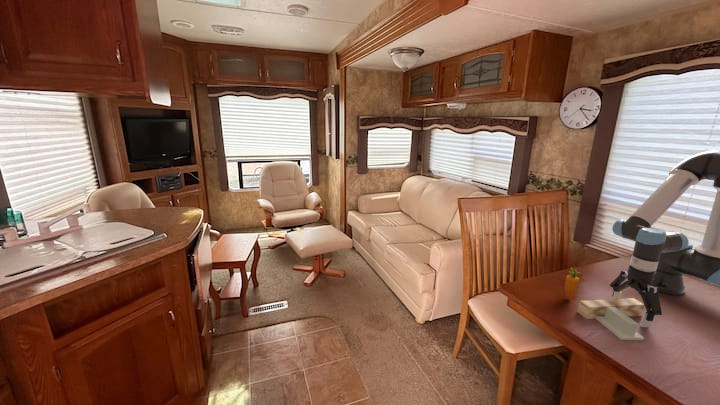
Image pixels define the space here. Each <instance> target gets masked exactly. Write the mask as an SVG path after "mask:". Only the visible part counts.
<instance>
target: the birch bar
mask: <svg viewBox="0 0 720 405" xmlns="http://www.w3.org/2000/svg"><path fill="white" fill-rule="evenodd" d="M607 307H616V308H617V309H618V310H620V311H621V312H622V313H624V314H625V315H627V316H628V317H641V316H643V315H642V314H643V313H644V312H643V311H644V308H645V305H644V302H641V301H640V300H638V299H636V298H634V297H630V298H621V299H613V298H610V299H609V298H608V299H607V298H606V299H588V300H579V303H578V307H577V313H578V314H579V315H581V316H582V317H583V318H585V319H586V320H588V319H590V320H591V319H596V316H605V313H606V309H607Z"/></svg>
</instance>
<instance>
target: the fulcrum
mask: <svg viewBox="0 0 720 405" xmlns="http://www.w3.org/2000/svg"><path fill="white" fill-rule="evenodd" d="M595 319H596V321H597V322H598V323H600V324H602V325H603V326H604V327H605V328H606V329H607V330H608V331H610V332H611V333H613V335H615V336H616V338H618V339H620V341H644V340H645V337H644V336H642V335H641V334H640V333H639V332H637V328H638V325H639V324H638V323H637V321H635V320H633V319H632V318H631V317H630V316H627V315H625V314H624V313H622V312H621V311H620V310H618V309H617V308H616V307H607V309H606V313H605V316H596V318H595Z"/></svg>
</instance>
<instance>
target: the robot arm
mask: <svg viewBox="0 0 720 405" xmlns="http://www.w3.org/2000/svg"><path fill="white" fill-rule="evenodd" d="M703 180H708V181H713V184H712V187H713V188H714V189H715V190H716V193H715V197H714V201H713V205H712V208H711V211H710V214H709V218H708V220H707V221H708V222H707V224H706V228H705V232H704V235H703V239H702V243H701V245H698V246H695V247H694V244H692V243H690V241H689V238H688V237H687V235H685V234H684V233H682V232H680V231H679V232H678V231H674V230H673V231H666V230H662V229H658V228H655V227H652V226H654V225H655V223H656V222H657V221H658V220H659V219H660V218H661V217H662V216H663V215H664V214H665V213H666V212H667V211H669V210H668V209H670V208H671V207H672V205H673V204H674V203H676V202H677V201H678V199H679V198H681V197H682V196H683V194H685V192H686V191H687V190H688V189H689V188H690V187H691V186H696V185H697V184H698V183H699V182H700V181H703ZM611 229H612V232H613V234H614V235H615V236H617V237H620V238H621V239H622V238H623V239H626V240H629V241H633V242H634V247H633V250H632V254H631V258H630V261H629V264H628V265H629V266H628V268H627V270H621V271H620V273H619V275H618V276H616V278H615V279H614V280H613V281H611V283H609V287H610V288H612V290H613V292H612V299H622V296H623V292H622V291H623V290H625V289H627V288H632V289H634V290H635V291H636V292H638V294H639V295H640V297H641V300H642V303H643V304H644V308H645V310H643V311H644V312H643V313H642V314H643V315H642V318H641V321H640V324H639V326H640V327H641V328H649V327H650V325H651V322H653V321H654V319H655V316H662V315H663V312H662V311H663V310H662V307H661V300H660V296H659V293H663V294H669V295H673V296H674V295H675V296H676V295H677V296H680V295H683V294H684V293H685V289H686V287H685V282H684V281H685V280H684V275H687V276H690V277H692V278H695V279H697V280H700V281H702V282H704V283H707V284H712V285H714V286H718V287H720V150H710V151H704V152H701V153H697V154H694V155H692V156H689V157H688V158H686V159H684V160H683V161H681V162H679V163H677V165H675V166H674V167H672V169H671V170H670V171H669V172H668V177H667V178H666V179H665V180H664V181H663V182H662V183H661V184H660V186H658V187H657V189H655V190H654V191H653V193H652V194H650V196H649V197H648V198H647V199H646V200H645V201H644V202H643V203H642V204H641V205H640V206H639V207H638V208H637V209H636V210H635V211H634V212H633V213H632V214H631V215H630V217H628V219H622V218H621V219H618V220H617V219H616V221H615V222H614V223H613V225H612V228H611Z"/></svg>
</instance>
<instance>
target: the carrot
mask: <svg viewBox="0 0 720 405" xmlns="http://www.w3.org/2000/svg"><path fill="white" fill-rule="evenodd" d="M569 269H570V270H569V271H568V273H569V274H567V275H566V276H565V282H564V293H565V298H566V300H571V299H572V298H573V297H574V296H575V295H576V292H577V291H578V288H579V284H580V278H579V277H578V275H579V274H580V273H581V272H580V271H578V270H577V269H574V268H573V267H570V268H569Z"/></svg>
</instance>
